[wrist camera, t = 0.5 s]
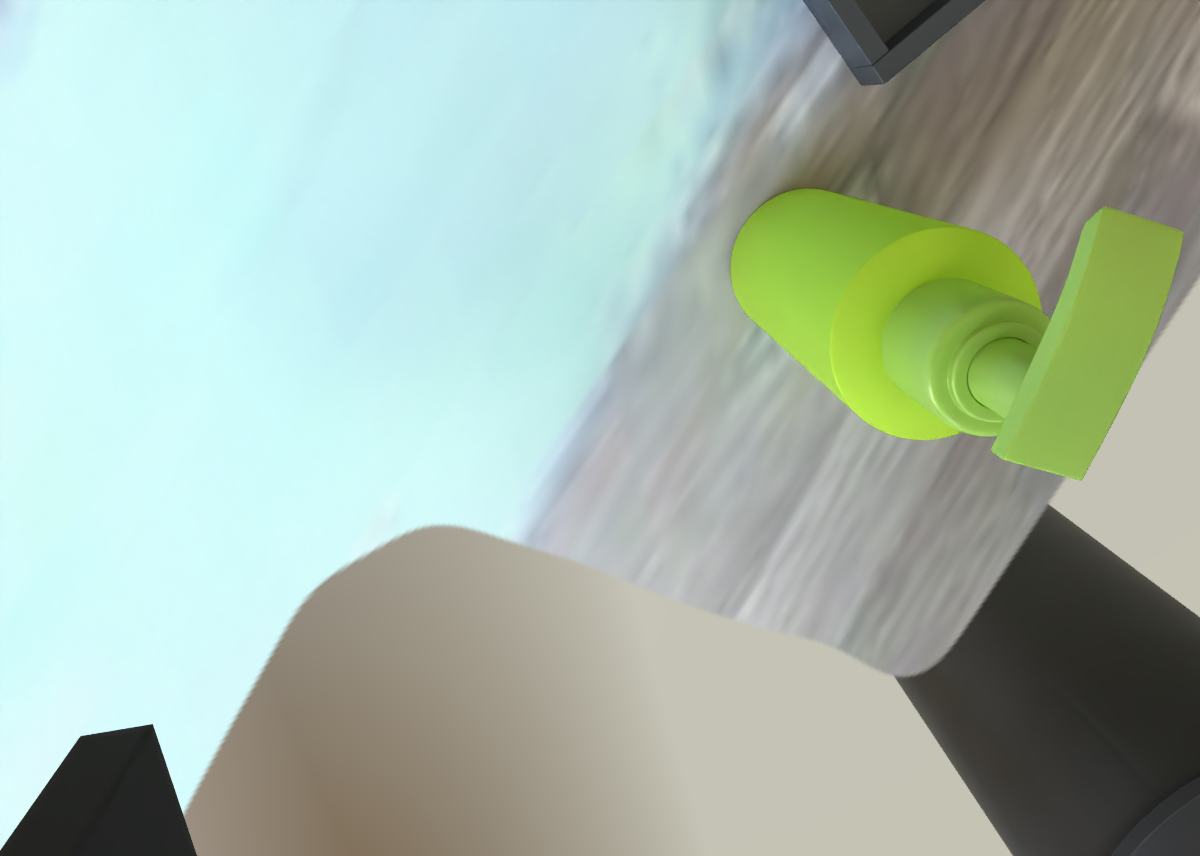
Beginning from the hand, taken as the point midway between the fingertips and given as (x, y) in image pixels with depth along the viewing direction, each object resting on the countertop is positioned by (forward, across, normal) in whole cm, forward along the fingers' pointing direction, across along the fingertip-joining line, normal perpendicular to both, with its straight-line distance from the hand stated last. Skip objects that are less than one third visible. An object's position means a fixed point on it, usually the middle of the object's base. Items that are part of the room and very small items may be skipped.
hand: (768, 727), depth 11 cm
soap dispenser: (+29, -9, 0) cm, 31 cm away
